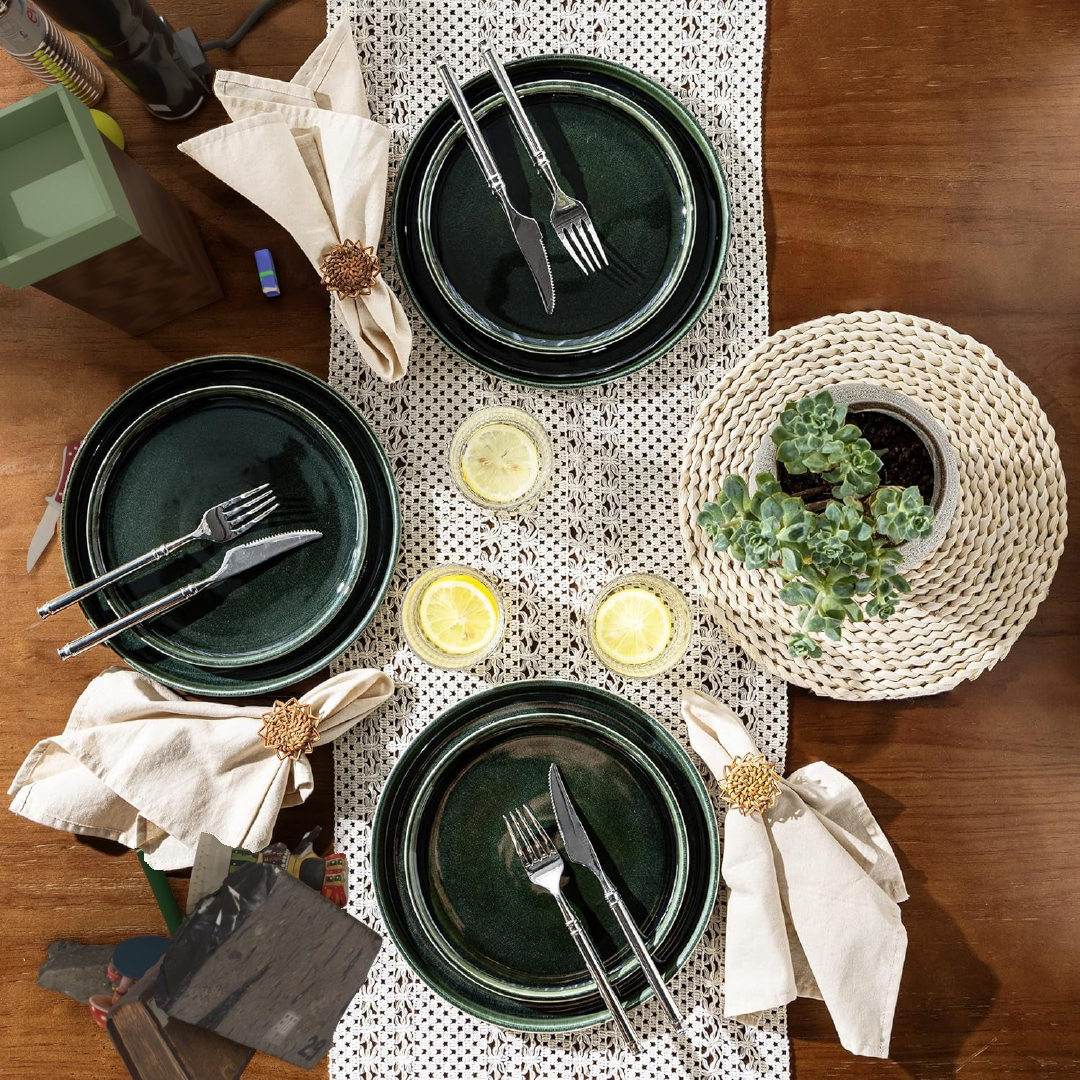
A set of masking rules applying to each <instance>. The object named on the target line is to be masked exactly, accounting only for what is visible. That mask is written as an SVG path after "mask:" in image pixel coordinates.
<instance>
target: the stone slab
mask: <svg viewBox="0 0 1080 1080" xmlns="http://www.w3.org/2000/svg"><path fill="white" fill-rule="evenodd" d="M185 918H186V919H185V920H184V921H183V922H182V924H181V925H180V926H179V927H178V929H177V930H176V931H175V933H174V935H173V937H172V936H171V938H170V939H171V941H170V942H169V944H168V947H167V951H166V955H165V957H164V960H163V962H162V964H161V966H160V972H159V975H158V977H157V979H156V981H155V985H154V1000H155V1003H156V1006H157V1008H159V1009H162V1010H163V1011H164V1013H165V1014H167V1015H168V1016H172V1017H175V1018H177V1019H179V1020H181V1021H185V1022H187V1023H190V1024H193V1025H197V1026H199V1027H200V1028H206V1029H208V1030H209V1031H213V1032H215V1033H216V1034H218V1035H221V1036H223V1037H225V1038H227V1039H230V1040H232V1041H235V1042H238V1043H240V1044H242V1045H245V1046H248V1047H251V1048H254V1049H255V1050H257V1051H258V1052H262V1053H263V1054H266V1055H270V1056H271V1057H274V1058H276V1059H279V1060H281V1061H284V1062H286V1063H288V1064H290V1065H292V1066H295V1067H298V1068H301V1069H305V1070H306V1072H309V1071H312V1070H313V1069H315V1068H316V1066H317V1064H318V1063H320V1061H322V1060H323V1059H324V1058H325V1056H326V1055H327V1054H328V1053H329V1052H330V1051H331V1050H332V1049H333V1047H334V1034H335V1031H336V1029H337V1028H338V1025H339V1023H340V1021H341V1020H342V1018H343V1016H344V1015H345V1013H346V1011H347V1010H348V1008H349V1006H350V1004H351V1003H352V1002H353V999H354V998H355V997H356V996H357V994H358V992H359V990H360V989H361V988H362V987H363V986H364V985H365V983H366V981H367V978H368V976H369V972H370V971H371V968H372V966H373V965H374V963H375V960H376V958H377V957H378V955H379V953H380V951H381V948H382V946H383V941H384V938H383V936H382V935H381V934H380V933H378V932H377V931H376V930H375V929H373V928H371V927H370V926H369V925H367V924H365V923H364V922H362V921H361V920H359V919H358V918H357V917H355V916H353V915H352V914H350V913H349V912H347V911H346V910H345V909H344V908H340V907H338V906H337V905H336V904H334V903H333V902H332V901H330V900H329V899H327V898H325V897H324V896H323V895H321V894H320V893H318V892H317V891H315V890H314V889H312V888H311V887H309V886H308V885H306V884H305V883H303V882H302V881H300V880H299V879H298V878H296V877H294V876H293V875H292V874H290V873H289V872H287V871H286V870H284V869H283V868H281V867H279V866H276V865H274V864H269V863H263V862H247V863H245V864H244V865H242V866H241V867H239V868H238V869H237V870H235V871H234V872H233V873H231V875H230V876H228V877H226V878H225V879H224V881H223V882H222V886H220V888H219V889H218V890H217V891H215V892H214V893H212V894H208V895H206V896H205V897H203V898H200V900H199V901H198V902H197V903H195V909H194V910H193V911H192V913H191V914H187V917H185Z"/></svg>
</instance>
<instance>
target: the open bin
mask: <svg viewBox="0 0 1080 1080" xmlns="http://www.w3.org/2000/svg"><path fill="white" fill-rule="evenodd" d="M89 109H90V108H88V107H87V106H86V105H85V104H84V103H83V102H82V101H81V100H80V99H78V98H77V97H76V96H75V95H74V94H73V93H72V92H71V91H70V90H69V89H67V88H66V87H65V86H64V85H63V84H62V83H61V82H60V83H57V84H55V85H53V86H51V87H49V88H47V87H46V88H44V89H42V90H40V91H38V92H35V93H34V94H31V95H29V96H27V97H25V98H23V99H22V98H21V99H20V100H18V101H16V102H13V103H11V104H10V105H7V106H4V107H3V108H1V109H0V284H2V285H3V286H7V287H9V288H11V289H13V290H15V291H19V290H22V289H23V288H26V287H28V286H30V285H31V284H33V283H35V282H37V281H39V280H42V279H44V278H46V277H48V276H51V275H53V274H55V273H57V272H60V271H62V270H64V269H66V268H68V267H71V266H73V265H75V264H77V263H80V262H82V261H84V260H86V259H88V258H91V257H93V256H95V255H97V254H100V253H102V252H104V251H106V250H108V249H111V248H113V247H115V246H117V245H120V244H122V243H124V242H126V241H128V240H131V239H133V238H135V237H137V236H140V235H142V233H141V231H140V228H139V226H138V224H137V221H136V219H135V216H134V214H133V212H132V209H131V207H130V205H129V202H128V200H127V197H126V195H125V193H124V190H123V188H122V186H121V183H120V181H119V178H118V176H117V174H116V171H115V169H114V167H113V164H112V162H111V159H110V157H109V155H108V152H107V150H106V148H105V145H104V143H103V140H102V138H101V136H100V133H99V131H98V129H97V126H96V124H95V121H94V119H93V117H92V114H91V112H90V110H89Z"/></svg>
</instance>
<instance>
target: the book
mask: <svg viewBox="0 0 1080 1080" xmlns="http://www.w3.org/2000/svg"><path fill="white" fill-rule="evenodd" d="M165 955H166V953H165V954H164V955H163V956H161V958H160V960H159V961H158V962H157V963H156V964H155V965H154V966H153V967H151V968H150V969H148V970H147V971H146V973H145V974H144V976H143V977H142V978H141V979H140V980H139V981H138V982H137V983H136V984H134V985H133V986H132V987H131V988H130V989H129V990H128V992H127V993H126V994H125V995H124V996H123V997H122V998H121V999H120V1000H119V1001H118V1002H117V1003H115V1004H114V1005H113V1006H112V1007H111V1008H110V1010H109V1011H108V1013H107V1017H106V1029H105V1030H106V1032H107V1035H108V1037H109V1040H110V1042H111V1045H112V1046H113V1048H114V1050H115V1052H116V1053H117V1055H118V1056H119V1057H120V1058H121V1060H122V1062H123V1064H124V1066H125V1069H126V1070H127V1073H128V1075H129V1076H130V1079H131V1080H240V1079H241V1077H242V1075H243V1074H244V1072H245V1070H246V1069H247V1067H248V1066H249V1064H250V1063H251V1061H252V1060H253V1058H254V1056H255V1054H256V1053H257V1051H258V1050H255V1049H254V1048H251V1047H248V1046H245V1045H242V1044H240V1043H238V1042H235V1041H232V1040H230V1039H227V1038H225V1037H223V1036H221V1035H218V1034H216V1033H215V1032H213V1031H209V1030H208V1029H206V1028H200V1027H199V1026H197V1025H193V1024H190V1023H187V1022H185V1021H181V1020H179V1019H177V1018H175V1017H172V1016H168V1015H167V1014H165V1013H164V1011H163V1010H162V1009H159V1008H157V1006H156V1003H155V1000H154V985H155V981H156V979H157V977H158V975H159V972H160V966H161V964H162V962H163V960H164V957H165Z"/></svg>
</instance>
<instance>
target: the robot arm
mask: <svg viewBox="0 0 1080 1080" xmlns="http://www.w3.org/2000/svg"><path fill="white" fill-rule="evenodd" d="M31 2H32V3H33V4H34V5H35V6H36V7H37V8H39V9H40V10H41V11H42V12H43V13H44V14H45V15H46V16H47V17H48V18H49V19H50V20H51V21H52V22H53V23H55V24H57V25H58V26H59V27H60V28H62V29H63V30H65V31H67V32H69V33H72V34H74V35H76V36H77V37H78V38H79V39H80V40H81V41H82V42H83V43H84V44H85V45H86V47H88V48H89V49H90V50H91V52H93V53H94V54H95V56H97V58H99V60H101V61H102V63H103V64H104V65H105V66H106V67H107V68H108V69H109V70H110V71H111V72H112V73H113V75H115V76H116V77H117V78H118V79H119V81H120V82H122V84H124V86H125V87H127V89H128V90H129V91H130V92H131V93H132V94H133V95H134V96H135V98H137V99H138V100H139V101H140V102H141V103H142V104H143V105H144V107H145V108H146V109H147V110H148V111H149V112H150V113H151V114H152V115H153V116H154V117H155V118H157V119H159V120H161V121H163V122H167V123H181V122H185V121H187V120H189V119H191V118H193V117H195V115H196V114H198V113H199V112H200V110H201V109H202V107H203V106H204V103H206V102H205V101H206V100H207V99H209V98H212V95H213V94H212V92H211V89H210V87H209V85H208V82H207V78H206V76H207V75H208V74H210V73H212V72H213V69H212V67H211V65H210V62H209V60H208V57H207V54H206V53H208V52H210V51H213V50H216V49H219V48H221V49H222V50H226V51H227V50H229V49H231V48H233V47H234V46H236V45H237V44H238V43H239V41H240V40H241V39H242V38H243V37H244V36H245V35H246V34H247V32H249V31H250V29H252V27H253V26H254V24H255V23H256V22H257V21H258V20H259V19H260V17H261V16H262V15H263V14H264V13H265V12H267V11H268V10H269V9H270V8H271V7H273V6H274V5H276V4H277V3H278V2H281V0H264V1H262V2H261V3H260V4H259V5H258V6H257V7H256V8H255V9H254V10H253V11H252V13H250V14H249V16H247V18H246V20H245V21H244V22H243V23H242V25H241V26H240V27H239V29H238V30H237V31H236V32H235V33H234V34H233V35H232V36H231V37H229V38H228V39H226V40H224V39H221V38H217V39H213V40H210V41H206V42H204V43H201V40H200V39H199V36H198V34H197V33H196V32H195V30H194V29H193V28H192V27H191V25H189V26H187V27H185V28H182V29H180V30H178V31H176V29H175V28H174V27H173V25H172V24H171V23H170V22H169V21H168V19H167V18H166V16H165V15H163V14H160V15H159V14H157V12H156V11H155V10H154V8H153V7H152V5H150V3H149V2H148V1H147V0H31Z"/></svg>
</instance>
